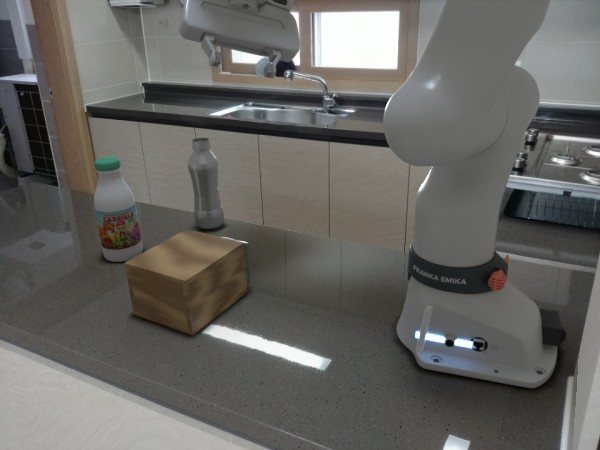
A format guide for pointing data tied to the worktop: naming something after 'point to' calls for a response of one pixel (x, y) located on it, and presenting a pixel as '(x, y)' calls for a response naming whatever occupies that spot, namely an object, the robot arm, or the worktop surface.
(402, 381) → the worktop surface
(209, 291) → the cabinet
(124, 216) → the milk bottle
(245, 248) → the drawer
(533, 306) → the robot arm
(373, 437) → the worktop surface
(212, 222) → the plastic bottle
